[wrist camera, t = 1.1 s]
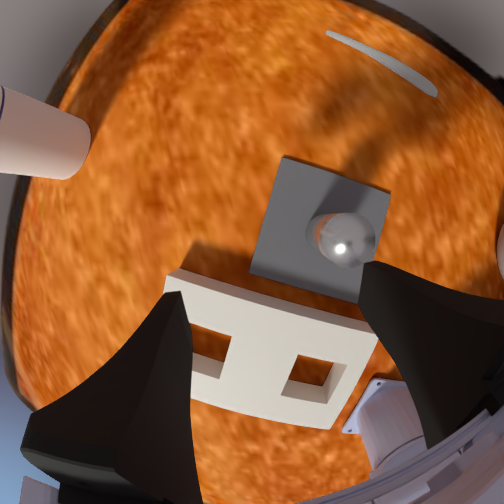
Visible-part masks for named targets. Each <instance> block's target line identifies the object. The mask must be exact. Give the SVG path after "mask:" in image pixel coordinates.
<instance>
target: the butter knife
mask: <svg viewBox="0 0 504 504" xmlns="http://www.w3.org/2000/svg"><path fill="white" fill-rule="evenodd" d="M326 35H328V36H331V37H333V38H335V39H336V40H338V41H341V42H343V43H345V44H347V45H349V46H352V47H354V48H356V49H358V50H359V51H361V52H363V53H365V54H367V55H369V56H370V57H372V58H374V59H375V60H377V61H378V62H380V63H381V64H383V65H384V66H386V67H387V68H389V69H390V70H392V71H394V72H395V73H397V74H398V75H400V76H401V77H403V78H404V79H406V80H407V81H409V82H410V83H411V84H413V85H414V86H416V87H417V88H419V89H420V90H422V91H423V92H425V93H426V94H428V95H430V96H432V97H437V95H438V90H437V88H436V87H435V86H434V85H433V84H432V83H431V82H430V81H429V80H428V79H426V78H425V77H424V76H422V75H421V74H419V73H418V72H416V71H415V70H413V69H412V68H410V67H408V66H407V65H405V64H403V63H402V62H400V61H398V60H396V59H395V58H393V57H391V56H389V55H387V54H384V53H382V52H380V51H378V50H376V49H374V48H371V47H369V46H367V45H365V44H363V43H360V42H358V41H356V40H353V39H351V38H348V37H346V36H343V35H341V34H338V33H336V32H333V31H330V30H328V31H327V32H326Z"/></svg>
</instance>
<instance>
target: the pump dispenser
mask: <svg viewBox="0 0 504 504" xmlns="http://www.w3.org/2000/svg"><path fill="white" fill-rule="evenodd" d="M497 262H498V267H499V270H500V273H501V276H502V278H503V279H504V224H503V226H502V228H501V231H500V234H499V237H498V243H497Z"/></svg>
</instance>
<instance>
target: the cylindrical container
mask: <svg viewBox="0 0 504 504" xmlns="http://www.w3.org/2000/svg"><path fill="white" fill-rule="evenodd" d="M90 142H91V134H90V129H89V127H88V125H87V123H86V122H85V121H84V120H82V119H80V118H78V117H75V116H73V115H71V114H69V113H66V112H64V111H62V110H59V109H57V108H55V107H52V106H50V105H48V104H45V103H43V102H40V101H38V100H36V99H33V98H31V97H28V96H26V95H24V94H21V93H19V92H16V91H14V90H11V89H8V88H6V87H3V86H0V173H10V174H19V175H28V176H37V177H45V178H53V179H61V180H64V179H68V178H70V177H72V176H73V175H74V174H75V173H76V172H77V171H78V170H79V169H80V168H81V166H82V165H83V163H84V161H85V159H86V157H87V154H88V152H89V148H90Z"/></svg>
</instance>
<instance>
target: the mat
mask: <svg viewBox="0 0 504 504" xmlns="http://www.w3.org/2000/svg"><path fill="white" fill-rule="evenodd" d="M390 197H391V195H390V194H387V193H385V192H382V191H380V190H377V189H375V188H372V187H370V186H367V185H364V184H362V183H359V182H356V181H354V180H351V179H348V178H345V177H342V176H340V175H337V174H334V173H331V172H328V171H325V170H322V169H319V168H316V167H313V166H309V165H306V164H303V163H300V162H296V161H293V160H289V159H286V158H283V157H282V159H281V162H280V165H279V169H278V172H277V176H276V179H275V183H274V186H273V190H272V193H271V197H270V200H269V204H268V207H267V211H266V214H265V217H264V221H263V224H262V228H261V231H260V235H259V238H258V242H257V245H256V248H255V252H254V255H253V259H252V262H251V266H250V269H249V273H250V274H253V275H257V276H260V277H263V278H267V279H270V280H274V281H277V282H280V283H284V284H287V285H291V286H294V287H298V288H301V289H305V290H308V291H312V292H315V293H319V294H323V295H326V296H330V297H333V298H337V299H341V300H344V301H348V302H352V303H355V304H358V299H359V293H360V286H361V280H362V273H363V265H364V264H362V265H361V266H358V267H356V268H343V267H340V266H338V265H336V264H335V263H333V262H332V261H331V260H329V259H328V258H327V257H325V256H324V255H323V254H321V253H320V252H319V251H317V250H316V249H315V248H313V247H312V246H311V245H310V244H309V242H308V241H307V238H306V227H307V224H308V223H309V221H310V220H311V219H312V218H313V217H315V216H317V215H321V214H335V213H356V214H359V215H361V216H363V217H364V218H366V219H367V220H368V221H369V222H370V224H371V225H372V227H373V229H374V232H375V248H374V251H373V253H372V255H371V257H370V258H369V259H368V260H367V261H366V262H371V261H373V259H374V255H375V252H376V249H377V246H378V242H379V239H380V235H381V232H382V228H383V225H384V221H385V217H386V213H387V209H388V205H389V201H390ZM366 262H365V263H366Z"/></svg>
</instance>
